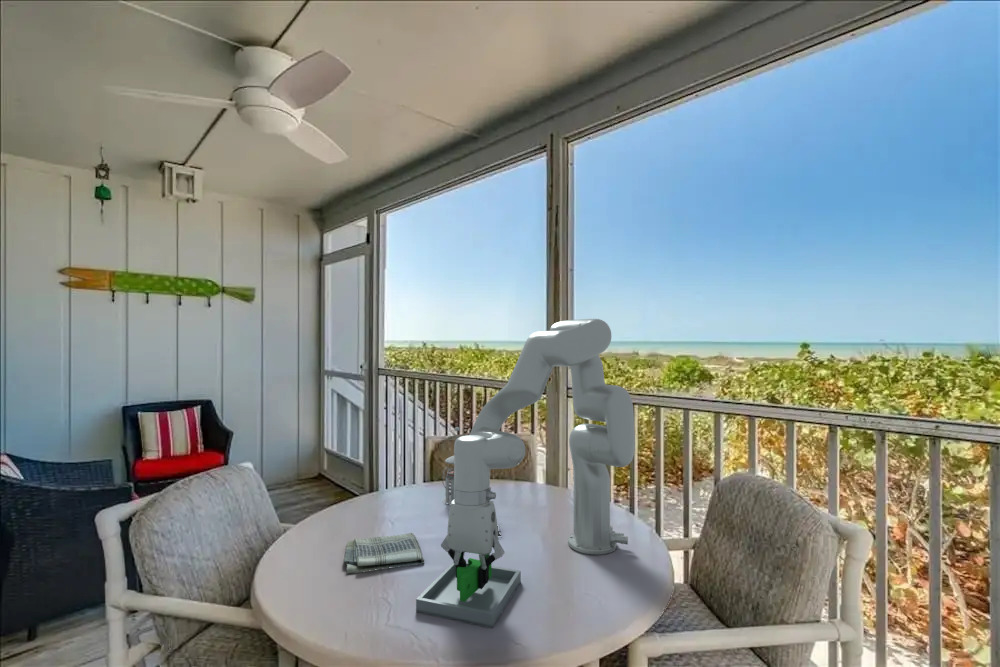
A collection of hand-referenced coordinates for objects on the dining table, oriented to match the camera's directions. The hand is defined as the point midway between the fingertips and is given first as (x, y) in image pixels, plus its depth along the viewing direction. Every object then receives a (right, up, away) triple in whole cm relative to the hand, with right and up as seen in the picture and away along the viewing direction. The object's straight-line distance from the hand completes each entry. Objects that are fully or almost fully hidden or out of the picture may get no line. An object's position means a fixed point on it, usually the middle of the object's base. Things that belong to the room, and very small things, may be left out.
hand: (472, 582), depth 97 cm
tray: (0, -3, 0) cm, 3 cm away
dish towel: (-24, -4, +20) cm, 31 cm away
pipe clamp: (0, -1, 0) cm, 1 cm away
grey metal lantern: (-9, -5, +60) cm, 61 cm away
